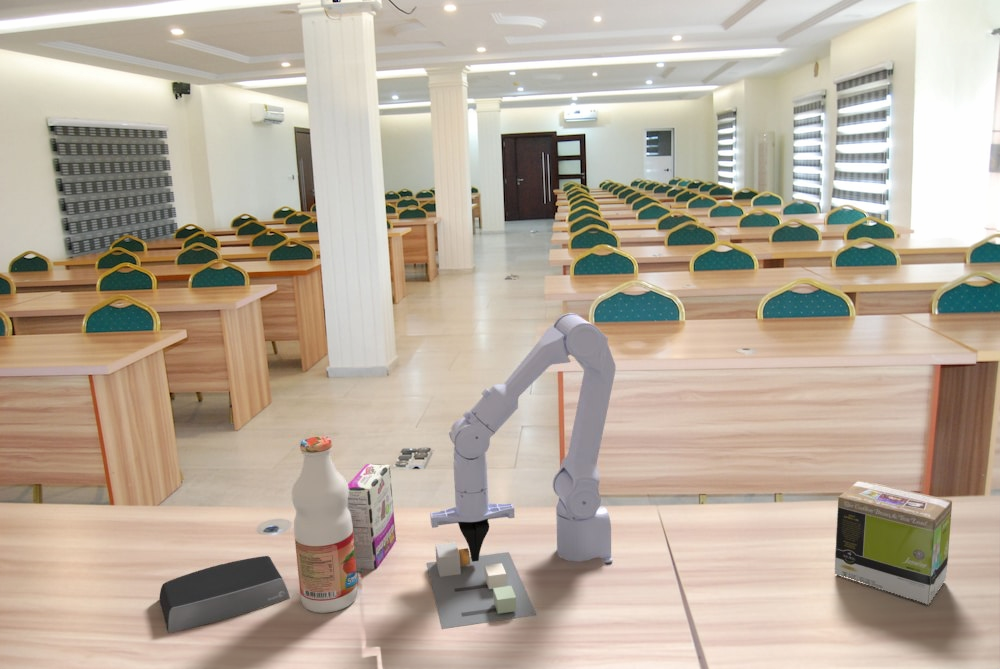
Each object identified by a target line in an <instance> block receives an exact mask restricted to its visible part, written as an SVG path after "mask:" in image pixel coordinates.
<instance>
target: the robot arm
mask: <svg viewBox="0 0 1000 669" xmlns="http://www.w3.org/2000/svg"><path fill="white" fill-rule="evenodd" d="M608 340H609V339H608V337H607V336H606V334H604V333H603V332H602V331H601V329H600V328H599V327H598V326H597V325H595V324H594V323H591V322H589V321H587V319H586V320H585V318H584V317H582V316H581V315H580V314H577V313H573V312H568V313H564V314H562V315H560V316H559V317H557V319H556V320H555V322H554V324H553V325H550V327H548V328H547V329H546V330H545V332H543V335H542V336H541V337H540V339H539V341H537V343H536V344H535V345H534V347H533V348H532V349H531V350H530V352H529V353H528V354H527V355H526V356H525V358H523V360H522V361H521V362H520V364H518V366H517V367H516V369H515V370H514V371H513V372H512V373H511V374H510V376H509V377H508V379H507V380H506V381H505V382H504V383H499V384H493V385H492V386H491V387H490V388H489V389H488V388H487V387H486V388H485V389H484V390H483V391H482V392H481V395H482V397H481V398H480V399H479V400H478V402H476V403H475V405H474V406H473V407H472V408H471V409H470V410H469V411H468V410H466V411H465V412H464V413H463V417H462V418H461V417H460V418H459V419H457V420H455V421H454V423H453V424H452V426H451V428H450V429H451V430H450V432H449V433H448V435H449V436H448V437H449V439H450V441H451V442H452V444H453V445H454V447H453V477H454V478H453V480H454V500H455V506H454V507H450V508H446V509H443V510H440V511H435V512H430V516H429V517H430V526H431V529H434V528H438V527H439V526H444V525H451V524H452V525H453V524H458V527H459V530H460V532H461V534H462V536H463V537H464V539H465V541H466V543H467V545H468V550H469V555H470V557H471V559H472V561H473V562H474V561H479V556H480V553H481V549H482V546H483V543H484V540H485V538H486V535H488V532H489V530H490V524H489V520H495V519H502V518H508V519H515V507H514V505H513V503H489V485H488V483H489V482H488V481H489V480H488V462H487V458H486V457H487V456H486V453H487V451H488V449H489V448H490V444H491V438H492V436H494V435H495V434H496V433H497V432H498V430H500V428H502V426H503V425H504V424H505V423H506V422H507V421H508V420H509V418H511V416H512V415H513V414H514V413H515V412H516V411H517V410H518V409H519V398H520V396H521V395H522V394H524V392H525V391H526V390H528V388H529V387H530V386H532V385H533V383H534V382H535V381H536V380H537V379H539V377H541V376H542V374H544V372H545V371H547V369H549V367H551V366H552V365H558V364H568V363H571V359H570V357H569V356H571V357H573V358H574V359H575V361H576V362H577V363H578V364H579V365H580V367H581V368H582V369H583V374H582V375H583V376H582V381H581V386H580V392H579V396H578V402H577V406H576V412H575V415H574V416H575V417H574V422H573V426H572V433H571V438H570V441H569V442H570V443H569V447H568V453H567V455H566V456H565V457H563V459H562V460H561V466H560V468H559V470H558V471H557V472H556V473H555V475H554V477H553V480H552V488H553V492H554V493H555V495H556V496H557V497H558V501H557V504H556V507H555V509H556V510H555V513H556V553H557V555H558V557H560V558H561V559H563V560H566V561H569V562H587V561H589V560H593V559H595V558H597V559H598V558H601V560H602V561H603V563H605V564H608V563H612V562H613V558H612V524H611V518H610V515H609V512H608V510H607V508H606V507H605V506H601V494H600V492H599V491H600V490H599V486H600V474H599V470H598V464H597V463H598V459H599V453H600V448H601V444H602V438H603V433H604V429H605V425H606V420H607V419H606V418H607V416H608V414H607V413H608V409H609V405H610V404H609V403H610V399H611V394H612V390H613V386H614V380H615V375H616V374H615V373H616V368H617V365H616V363H615V360H614V358H613V354H612V351H611V349H610V346H609V343H608V342H609V341H608Z"/></svg>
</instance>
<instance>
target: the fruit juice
mask: <svg viewBox="0 0 1000 669" xmlns="http://www.w3.org/2000/svg"><path fill="white" fill-rule="evenodd" d="M299 447H300V453H301V454H302V455H303V457H302V458H303V460H302V466H301V471H300V474H299V476H298V477H297V479H296V480H295V482H294V484H293V486H292V489H291V501H292V505H293V508H294V509H295V517H294V520H293V535H294V536H293V537H294V544H295V555H296V565H297V572H298V573H297V574H298V584H299V593H300V601H301V604H302V606H303V607H304V608H305V609H306V610H307V611H310V612H313V613H321V614H326V613H333V612H336V611H337V612H339V611H341V610H343V609H345V608H347V607H349V606H351V605H352V604H353V603H354V601H355V600H356V599H357V596H358V590H359V589H358V577H357V572H356V561H355V549H354V537H353V524H352V517H351V513H350V511H349V509H348V507H347V502H348V497H349V488H348V484H349V483H348V482H347V480H346V478H345V477H344V476H343V475H342V474H341V472H339V471H338V470H337V468H336V466H335V464H334V461H333V459H332V458H333V457H332V455H331V451H332V449H333V444H332V438H330V437H328V436H323V435H320V436H319V435H317V436H311V437H310V436H309V437H307V438H305V439H303V440H301V441H300V444H299Z"/></svg>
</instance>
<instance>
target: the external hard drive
mask: <svg viewBox="0 0 1000 669" xmlns="http://www.w3.org/2000/svg"><path fill="white" fill-rule="evenodd" d="M159 592H160V593H159V604H160V606H161V609H162V611H161V612H162V615H163V618H164V622H165V625H166V630H167V632H168V633H169V634H170V633H175V632H179V631H184V630H187V629H188V630H189V629H193V628H195V627H200V626H204V625H207V624H208V625H209V624H211V623H214V622H218V621H219V622H220V621H222V620H225V619H229V618H232V617H237V616H240V615H242V614H246V613H249V612H253V611H255V610H259V609H262V608H265V607H268V606H271V605H273V604H276V603H280V602H282V601H284V600H288V599H289V598H290V593H289V590H288V588H287V585H286V583H285V581H284V579H283V577H282V576H281V574H280V572H279V570H278V569H277V568H276V566H275V564H274V562H273V561H272V558H271V557H270V556H269V555H263V556H262V555H261V556H257V557H256V556H255V557H251V558H250V557H249V558H245V559H239V560H234V561H229V562H225V563H222V564H217V565H213V566H211V567H207V568H203V569H199V570H195V571H193V572H190V573H187V574H184V575H181V576H179V577H176V578H173V579H170V580H168V581H166V582H164V583H162V584H161V587H160V591H159ZM287 598H288V599H287Z"/></svg>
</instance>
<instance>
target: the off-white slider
mask: <svg viewBox="0 0 1000 669" xmlns="http://www.w3.org/2000/svg"><path fill="white" fill-rule="evenodd" d="M485 580H486V582H487V585H488V588H489V589H493V588H498V587H505V586H507V582H506V572H505V570H504V567H503V565H502V563H500V564H492V565H485Z"/></svg>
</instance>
